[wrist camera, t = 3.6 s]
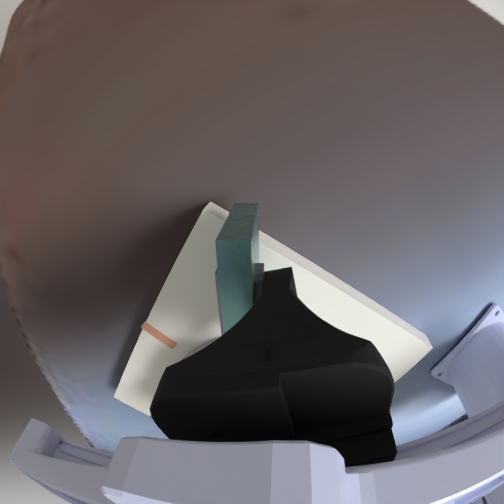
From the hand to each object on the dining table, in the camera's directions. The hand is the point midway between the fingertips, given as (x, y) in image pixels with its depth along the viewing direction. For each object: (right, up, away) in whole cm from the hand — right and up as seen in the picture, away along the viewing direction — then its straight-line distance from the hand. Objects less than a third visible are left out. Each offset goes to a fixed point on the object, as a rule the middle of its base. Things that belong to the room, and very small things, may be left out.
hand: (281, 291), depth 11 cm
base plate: (-1, -7, +8) cm, 11 cm away
